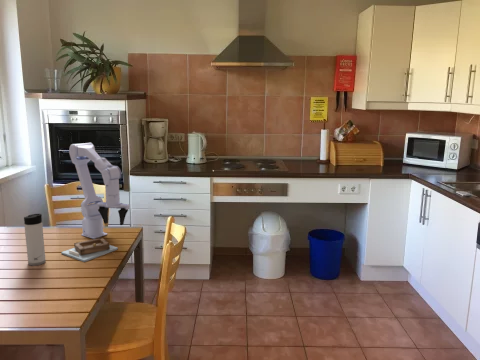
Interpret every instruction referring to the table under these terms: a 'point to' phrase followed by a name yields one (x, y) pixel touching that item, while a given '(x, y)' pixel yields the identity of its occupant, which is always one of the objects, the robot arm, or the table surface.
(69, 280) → the table surface
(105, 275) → the table surface
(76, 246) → the frame
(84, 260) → the wall board
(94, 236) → the robot arm
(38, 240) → the travel mug
